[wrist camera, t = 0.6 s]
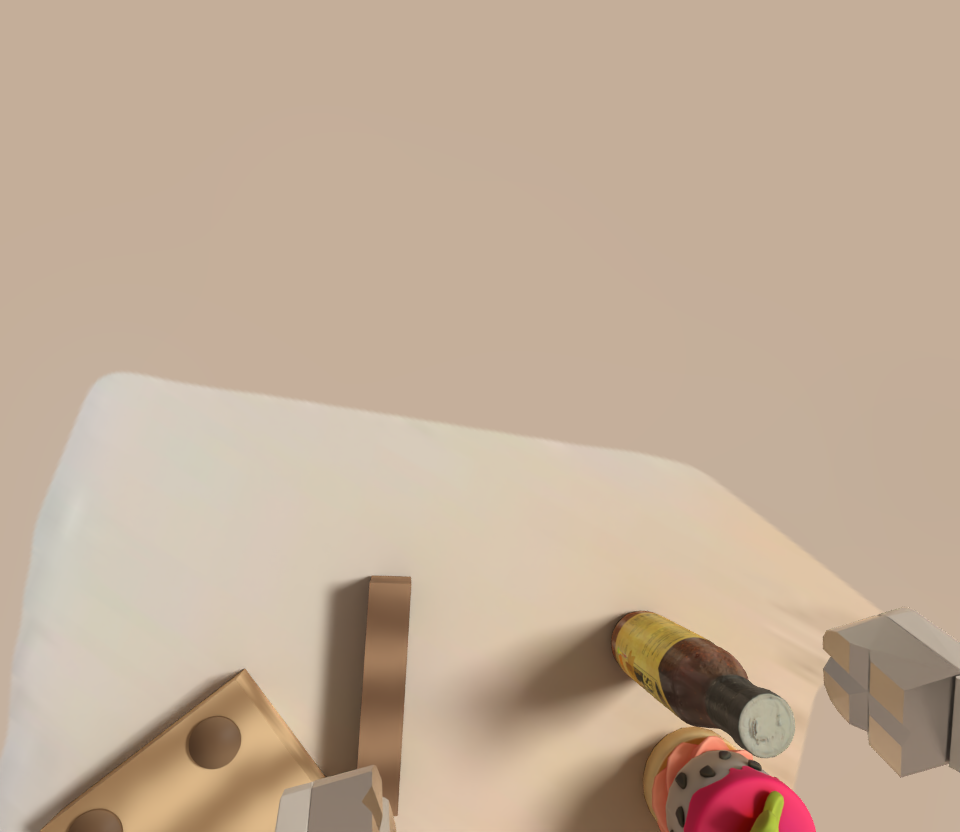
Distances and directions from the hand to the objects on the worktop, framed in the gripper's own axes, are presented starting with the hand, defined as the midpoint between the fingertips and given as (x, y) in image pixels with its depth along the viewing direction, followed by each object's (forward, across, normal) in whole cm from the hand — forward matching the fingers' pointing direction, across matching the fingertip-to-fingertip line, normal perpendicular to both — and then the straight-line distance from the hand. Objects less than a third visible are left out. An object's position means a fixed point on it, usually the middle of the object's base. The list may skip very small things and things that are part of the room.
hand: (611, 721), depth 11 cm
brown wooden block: (+38, -11, -30) cm, 49 cm away
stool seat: (+35, -27, -35) cm, 57 cm away
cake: (+33, +15, -46) cm, 58 cm away
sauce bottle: (+38, +13, -33) cm, 52 cm away
